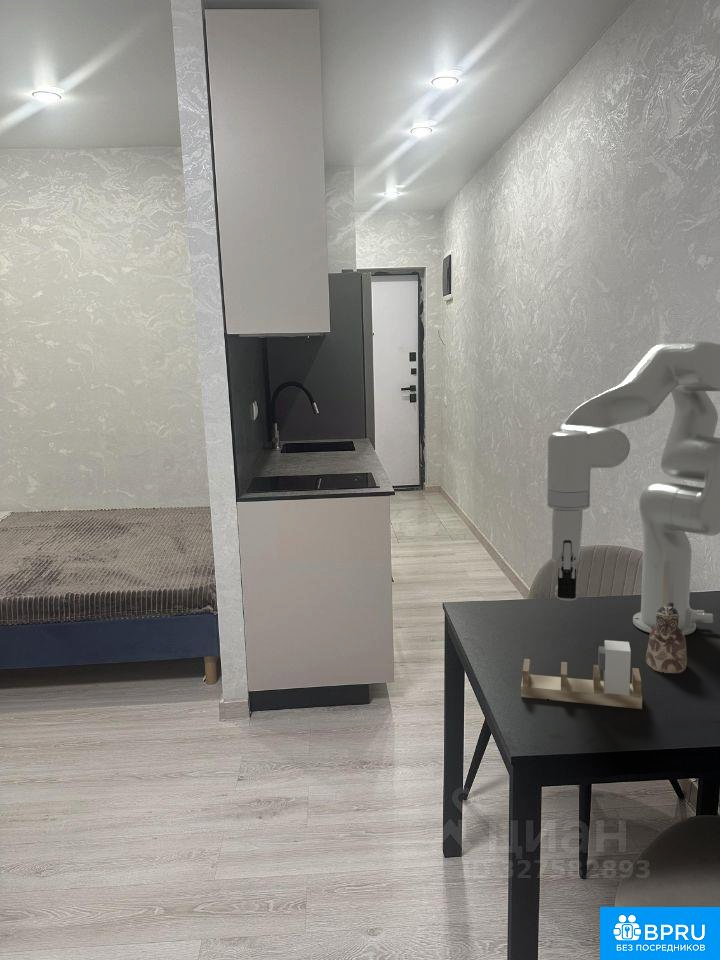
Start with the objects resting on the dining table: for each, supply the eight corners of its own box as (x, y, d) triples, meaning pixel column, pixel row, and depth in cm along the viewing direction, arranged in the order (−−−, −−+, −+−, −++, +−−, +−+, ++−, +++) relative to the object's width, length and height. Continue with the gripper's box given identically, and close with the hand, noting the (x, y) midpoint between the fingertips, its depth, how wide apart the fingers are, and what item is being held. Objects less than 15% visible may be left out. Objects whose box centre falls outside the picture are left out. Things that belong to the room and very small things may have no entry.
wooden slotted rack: (639, 695, 122) (639, 668, 121) (641, 709, 118) (642, 681, 117) (522, 683, 128) (522, 658, 127) (521, 696, 123) (521, 670, 122)
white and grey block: (627, 684, 122) (628, 641, 121) (629, 695, 118) (630, 651, 117) (597, 681, 124) (598, 639, 122) (598, 692, 120) (599, 649, 118)
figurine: (640, 666, 133) (642, 607, 131) (653, 653, 138) (655, 596, 136) (679, 676, 128) (682, 615, 126) (691, 663, 134) (694, 604, 131)
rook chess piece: (580, 601, 128) (580, 560, 127) (555, 600, 129) (555, 559, 128) (577, 593, 133) (578, 553, 131) (553, 592, 134) (554, 552, 132)
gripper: (548, 489, 137) (547, 577, 140) (545, 507, 121) (544, 607, 124) (588, 489, 134) (586, 580, 138) (590, 509, 119) (588, 610, 122)
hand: (566, 592), depth 131 cm, fingers closed on rook chess piece, 4 cm apart
